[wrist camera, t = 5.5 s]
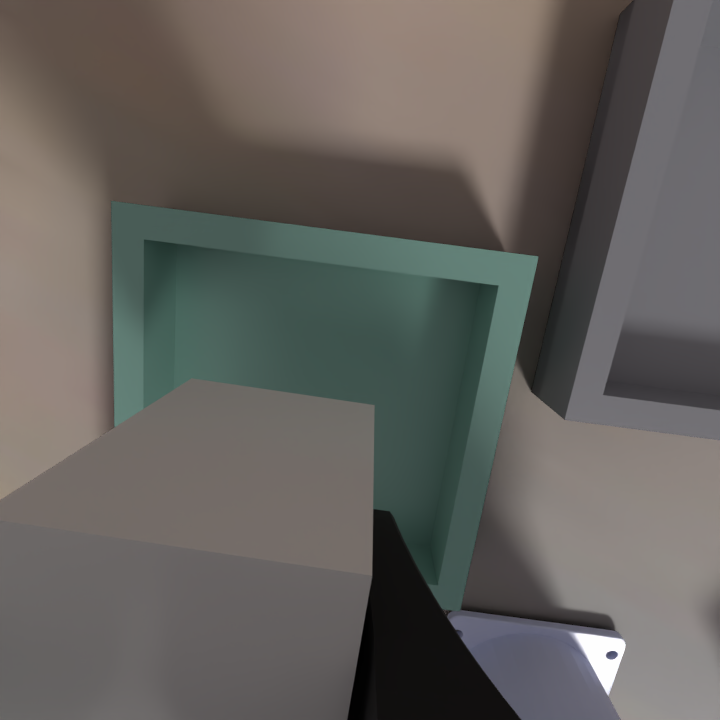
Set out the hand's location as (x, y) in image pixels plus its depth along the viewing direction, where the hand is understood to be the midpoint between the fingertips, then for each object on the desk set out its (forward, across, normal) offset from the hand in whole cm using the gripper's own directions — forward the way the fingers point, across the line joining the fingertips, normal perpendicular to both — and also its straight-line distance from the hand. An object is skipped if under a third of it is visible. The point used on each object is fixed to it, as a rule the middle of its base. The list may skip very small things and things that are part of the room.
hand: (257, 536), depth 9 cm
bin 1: (+9, 0, 0) cm, 9 cm away
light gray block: (+1, 0, 0) cm, 1 cm away
